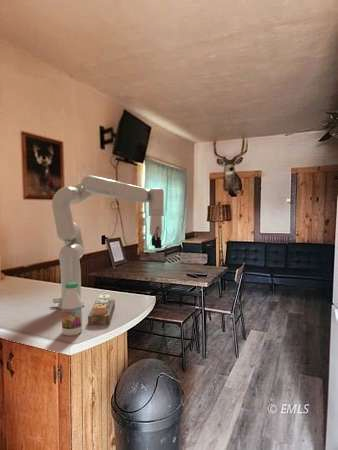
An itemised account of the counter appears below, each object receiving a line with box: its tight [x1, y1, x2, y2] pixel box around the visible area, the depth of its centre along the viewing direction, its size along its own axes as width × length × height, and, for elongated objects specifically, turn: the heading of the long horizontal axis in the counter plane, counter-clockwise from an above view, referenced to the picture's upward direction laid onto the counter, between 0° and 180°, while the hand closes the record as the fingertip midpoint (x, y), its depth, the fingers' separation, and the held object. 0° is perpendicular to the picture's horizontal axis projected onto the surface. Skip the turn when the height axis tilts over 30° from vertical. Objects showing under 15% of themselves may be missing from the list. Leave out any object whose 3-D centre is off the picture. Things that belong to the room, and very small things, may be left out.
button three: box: [92, 303, 107, 315], centre depth 137 cm, size 5×5×5 cm
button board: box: [87, 298, 116, 327], centre depth 144 cm, size 9×24×4 cm, turn 5°
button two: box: [95, 299, 109, 309], centre depth 144 cm, size 5×5×5 cm
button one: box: [97, 294, 111, 304], centre depth 152 cm, size 5×5×5 cm
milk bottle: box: [61, 282, 83, 337], centre depth 125 cm, size 8×8×20 cm
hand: (156, 246), depth 158 cm, fingers open, 9 cm apart
